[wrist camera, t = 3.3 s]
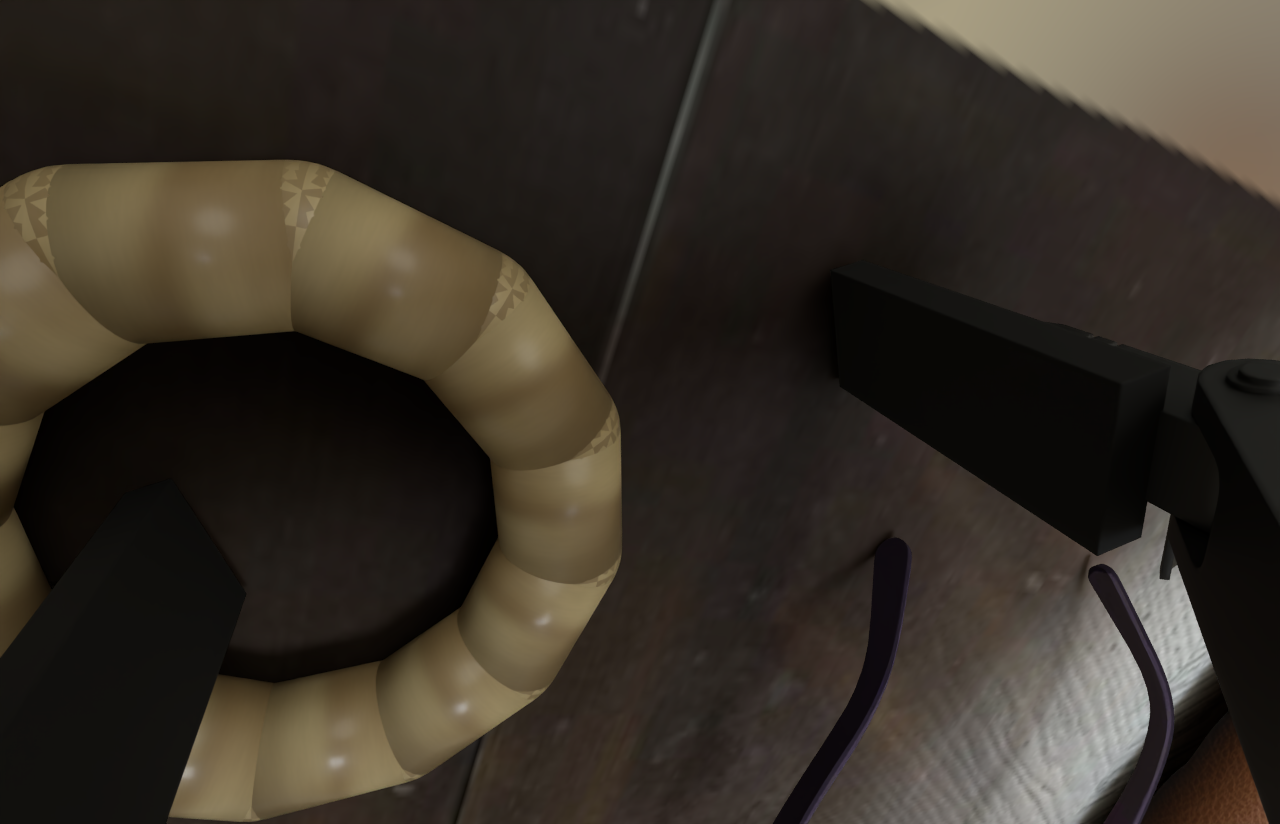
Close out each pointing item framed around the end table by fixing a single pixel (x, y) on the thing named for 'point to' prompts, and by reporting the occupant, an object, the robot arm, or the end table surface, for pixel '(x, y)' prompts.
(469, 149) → the end table surface
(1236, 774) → the sunglasses case
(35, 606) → the segmented ring
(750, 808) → the end table surface
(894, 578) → the sunglasses
